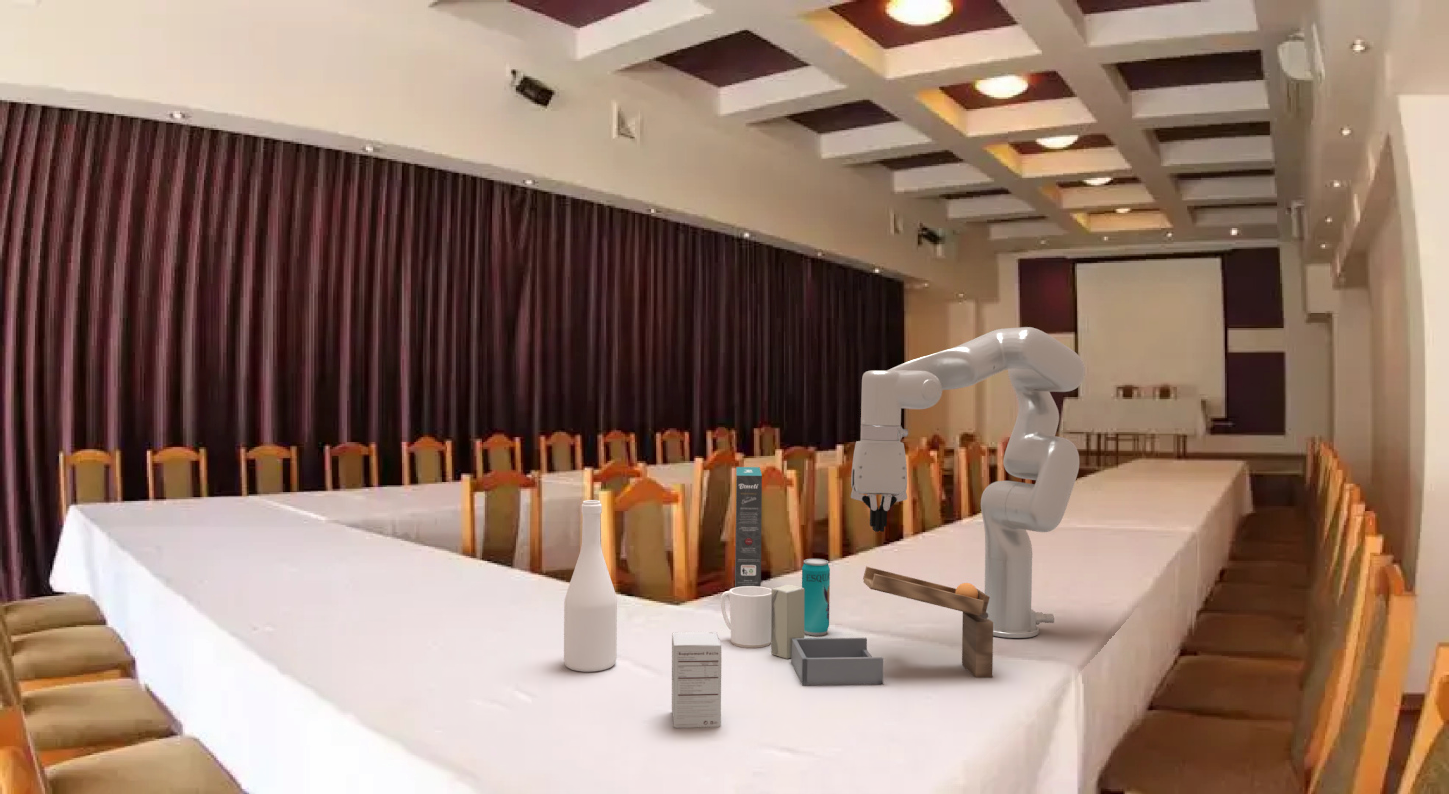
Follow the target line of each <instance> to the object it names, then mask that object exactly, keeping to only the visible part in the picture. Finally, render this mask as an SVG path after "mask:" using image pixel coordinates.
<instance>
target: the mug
mask: <svg viewBox="0 0 1449 794" xmlns="http://www.w3.org/2000/svg"><path fill="white" fill-rule="evenodd" d="M771 589H772V588H769V587H764V586H761V587H758V586H743V587H736V588H735V587H732V588H730V589H729V590H727V591H724V592H723V593H722V594H721V596H720V598H719V601H720V609H721V613H722V616H723V620H724V622H725V624H726V627H727V628H728V629H729V631H730V642H731V644H732V645H734V646H736V647H740V648H743V649H759V648H760V649H761V648H765V647H768V646H771V609H772V608H771V605H772V604H771V602H772V601H771V599H772V596H771ZM726 597H729V616H730V617H729V618H728V614H727V610H726V603H725V601H726V600H725V599H726ZM729 619H730V620H729Z"/></svg>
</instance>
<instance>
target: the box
mask: <svg viewBox="0 0 1449 794" xmlns="http://www.w3.org/2000/svg"><path fill="white" fill-rule="evenodd" d="M770 589H771V596H772V599H771V601H772V602H771V604H772V605H771V608H772V609H771V643H770V646H771V647H770V648H771V649H770V652H771V655H773V656H777V657H780V658H783V659H787V660H788V659H790V658H791V641H792V638H805V633H804V588H802V586H797V585H794V584H793V585H792V584H784V585H781V586H777V587H773V588H770Z"/></svg>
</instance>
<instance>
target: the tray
mask: <svg viewBox="0 0 1449 794" xmlns="http://www.w3.org/2000/svg"><path fill="white" fill-rule="evenodd" d="M867 646H868V639H867V637H813V638H812V637H804V638H792V641H791V659H790V662H791V665H792V667H793V669H794V671H795V673H796V676H797V678H798V679H799V682H800V684H801V685H802V686H843V685H844V686H847V685H848V686H850V685H852V686H853V685H856V686H857V685H860V686H861V685H884V683H883V682H884V657H882V656H872V654H871V653H870V652H869V650H868V647H867Z"/></svg>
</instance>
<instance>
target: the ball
mask: <svg viewBox="0 0 1449 794" xmlns="http://www.w3.org/2000/svg"><path fill="white" fill-rule="evenodd" d="M955 589H956V591H955V594H959V595H963V596H967V597H971V598H975V599H977V598H978V591H977V589H978V588H977V587H976V586H975V585H973V584H972V583H969V582H963V583H960V584H959V585H958V586H957V587H956V588H955Z"/></svg>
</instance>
